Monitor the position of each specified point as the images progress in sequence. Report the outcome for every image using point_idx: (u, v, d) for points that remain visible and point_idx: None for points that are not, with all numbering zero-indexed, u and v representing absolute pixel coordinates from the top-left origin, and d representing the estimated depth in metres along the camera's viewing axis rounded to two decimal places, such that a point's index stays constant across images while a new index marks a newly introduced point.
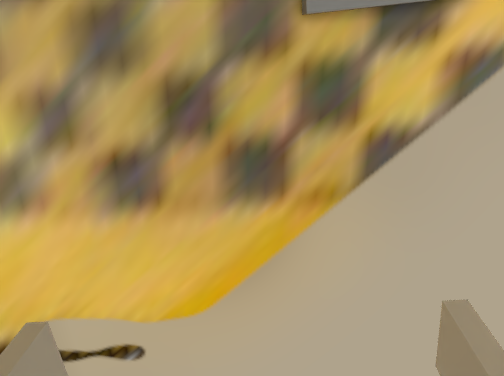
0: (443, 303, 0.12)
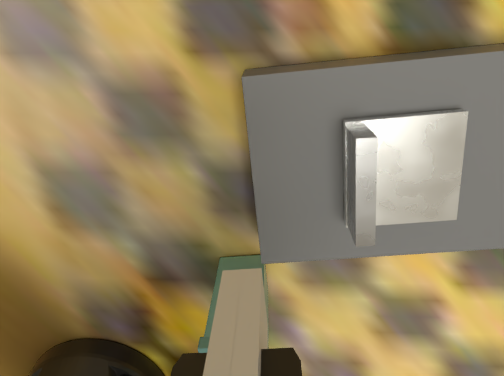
0: (241, 271, 0.15)
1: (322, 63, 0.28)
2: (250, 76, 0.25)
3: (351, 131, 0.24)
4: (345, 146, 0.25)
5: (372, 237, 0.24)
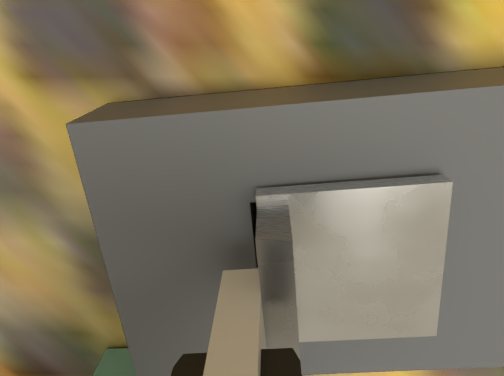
0: (241, 271, 0.15)
1: (212, 97, 0.18)
2: (80, 123, 0.16)
3: (259, 217, 0.14)
4: None
5: None
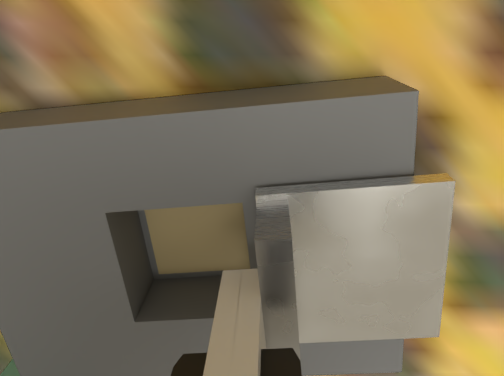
0: (241, 271, 0.15)
1: (80, 109, 0.19)
2: None
3: (258, 217, 0.14)
4: None
5: None
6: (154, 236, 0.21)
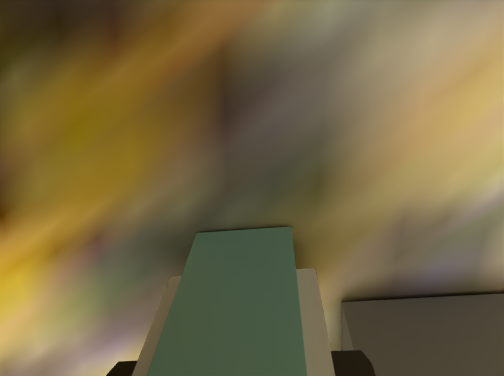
0: None
1: None
2: None
3: None
4: None
5: None
6: None
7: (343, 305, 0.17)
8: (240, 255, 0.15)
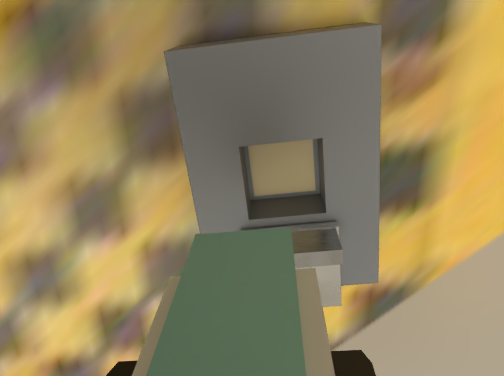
0: None
1: None
2: (380, 33, 0.25)
3: (338, 238, 0.28)
4: (317, 228, 0.30)
5: None
6: None
7: (177, 46, 0.30)
8: (239, 256, 0.15)
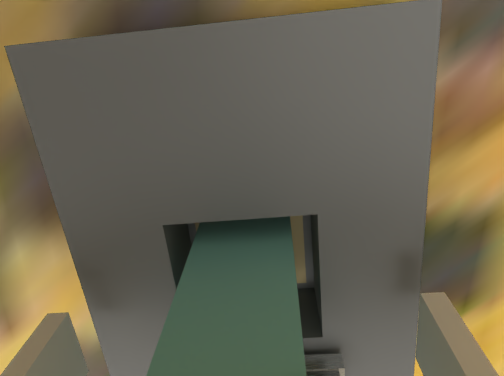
0: (421, 296, 0.13)
1: None
2: (437, 18, 0.12)
3: None
4: None
5: None
6: None
7: None
8: (243, 225, 0.17)
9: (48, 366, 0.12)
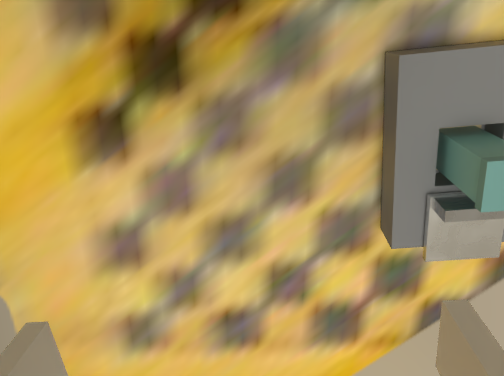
0: (443, 303, 0.12)
1: None
2: None
3: None
4: None
5: (450, 220, 0.37)
6: None
7: (386, 52, 0.39)
8: (463, 132, 0.39)
9: None
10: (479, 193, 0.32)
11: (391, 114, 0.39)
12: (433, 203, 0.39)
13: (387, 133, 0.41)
